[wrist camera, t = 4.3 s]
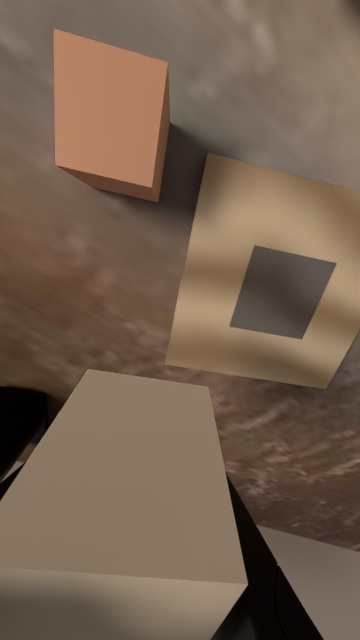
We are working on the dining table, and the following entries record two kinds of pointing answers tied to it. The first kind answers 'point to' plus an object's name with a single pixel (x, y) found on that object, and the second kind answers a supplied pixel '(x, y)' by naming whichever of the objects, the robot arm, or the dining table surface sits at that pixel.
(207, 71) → the dining table surface
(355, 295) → the tan board
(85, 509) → the cream block
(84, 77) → the terracotta block
